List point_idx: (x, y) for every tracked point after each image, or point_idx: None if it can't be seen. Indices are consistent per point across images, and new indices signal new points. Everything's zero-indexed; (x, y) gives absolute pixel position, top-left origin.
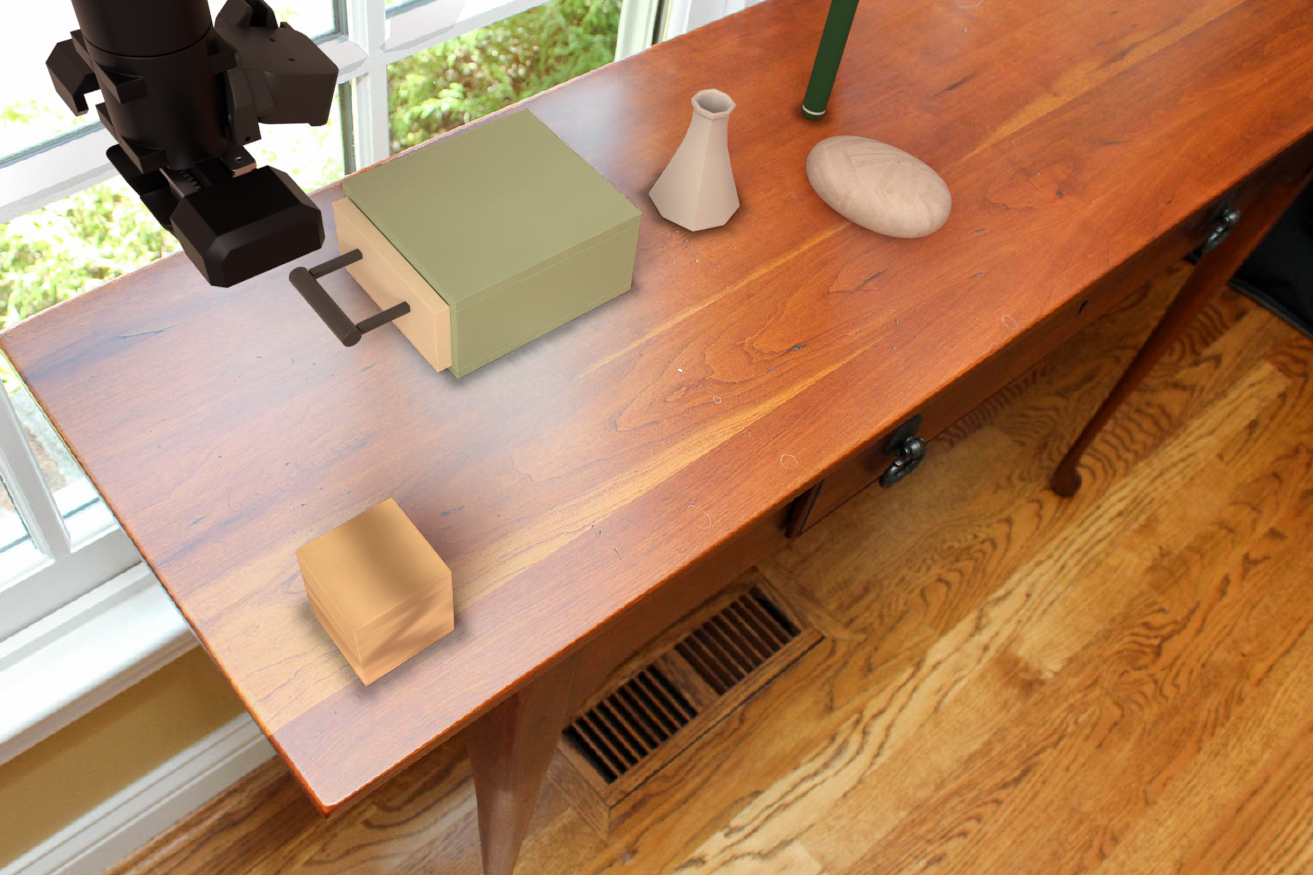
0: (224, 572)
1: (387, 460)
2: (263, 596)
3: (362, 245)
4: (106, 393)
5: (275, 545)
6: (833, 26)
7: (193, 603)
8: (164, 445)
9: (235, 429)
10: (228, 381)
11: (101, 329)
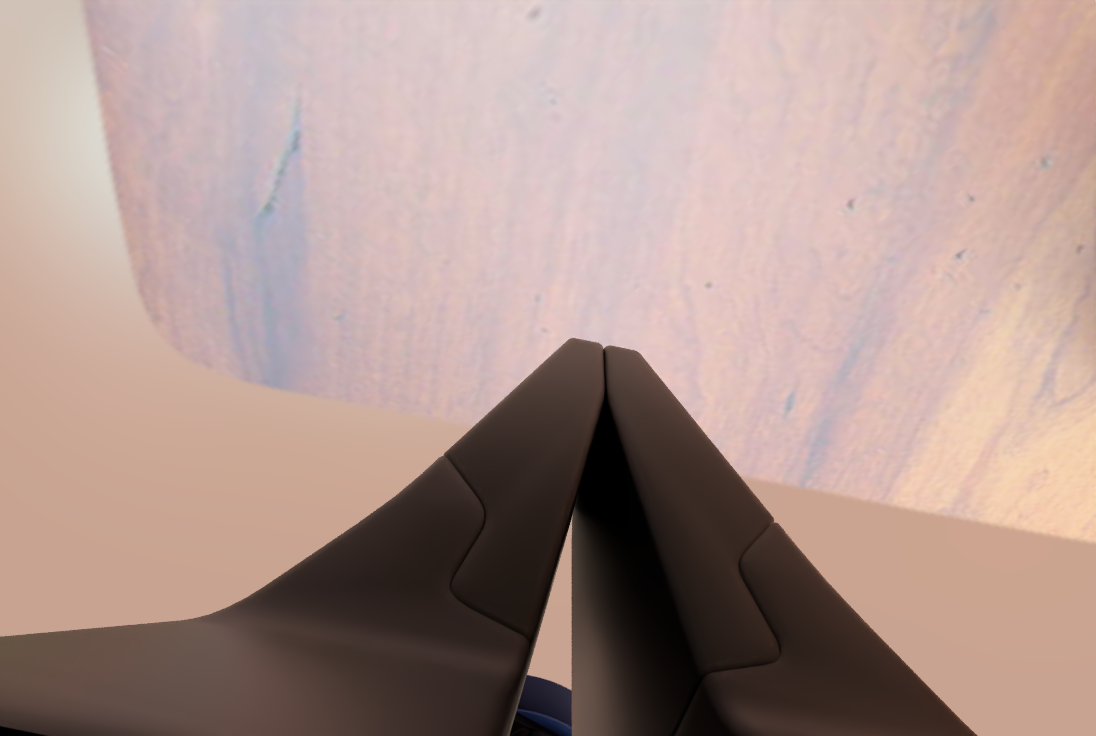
0: (915, 440)
1: (1089, 15)
2: (1017, 432)
3: None
4: (396, 326)
5: (967, 353)
6: None
7: (907, 499)
8: (594, 336)
9: (676, 216)
10: (546, 130)
11: (217, 228)
